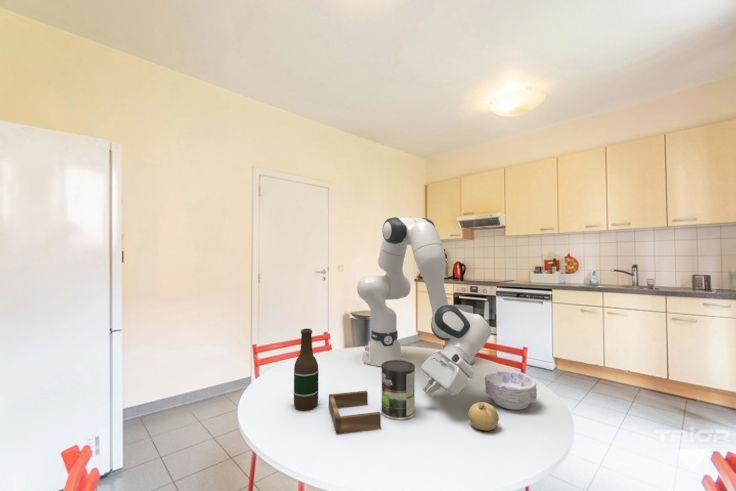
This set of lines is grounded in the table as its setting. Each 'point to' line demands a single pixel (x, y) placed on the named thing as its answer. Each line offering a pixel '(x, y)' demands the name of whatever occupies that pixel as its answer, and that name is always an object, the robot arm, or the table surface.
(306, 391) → the beer bottle
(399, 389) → the coffee can
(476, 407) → the onion
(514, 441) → the table surface
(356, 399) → the caddy
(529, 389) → the paper bowls
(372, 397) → the table surface
